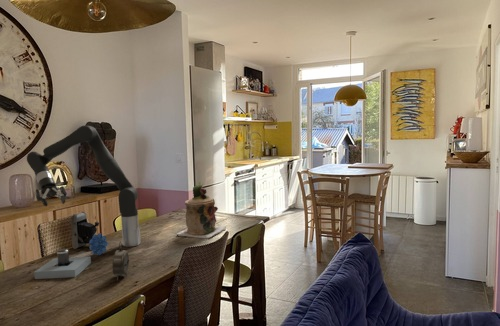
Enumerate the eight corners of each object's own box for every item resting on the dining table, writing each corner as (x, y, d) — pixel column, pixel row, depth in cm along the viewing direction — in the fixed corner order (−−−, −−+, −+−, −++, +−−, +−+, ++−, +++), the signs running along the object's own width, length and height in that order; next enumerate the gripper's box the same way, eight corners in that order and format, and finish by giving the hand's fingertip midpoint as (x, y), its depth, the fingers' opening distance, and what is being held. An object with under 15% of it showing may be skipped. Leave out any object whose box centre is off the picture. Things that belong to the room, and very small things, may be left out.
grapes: (113, 253, 198) (112, 231, 197) (105, 257, 191) (103, 235, 190) (96, 251, 201) (94, 230, 200) (87, 256, 195) (85, 233, 194)
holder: (90, 263, 183) (90, 256, 183) (75, 277, 165) (74, 269, 165) (54, 264, 183) (53, 258, 182) (34, 279, 165) (34, 271, 165)
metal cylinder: (71, 268, 177) (70, 248, 176) (67, 272, 172) (65, 251, 171) (61, 269, 177) (59, 248, 176) (56, 272, 172) (54, 252, 171)
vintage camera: (95, 250, 205) (94, 215, 204) (71, 249, 208) (70, 214, 207) (105, 245, 215) (105, 212, 213) (82, 244, 218) (81, 211, 216)
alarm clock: (119, 272, 169) (117, 238, 167) (131, 272, 169) (129, 237, 168) (112, 282, 158) (110, 245, 156) (125, 281, 158) (123, 244, 157)
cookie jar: (174, 236, 227) (171, 185, 224) (195, 226, 249) (192, 180, 247) (210, 239, 217) (207, 186, 215) (227, 228, 240) (225, 180, 238)
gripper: (32, 178, 192) (41, 201, 185) (61, 175, 202) (71, 197, 196) (30, 187, 196) (39, 210, 189) (58, 184, 206) (67, 206, 200)
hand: (55, 204), depth 192 cm, fingers open, 8 cm apart
